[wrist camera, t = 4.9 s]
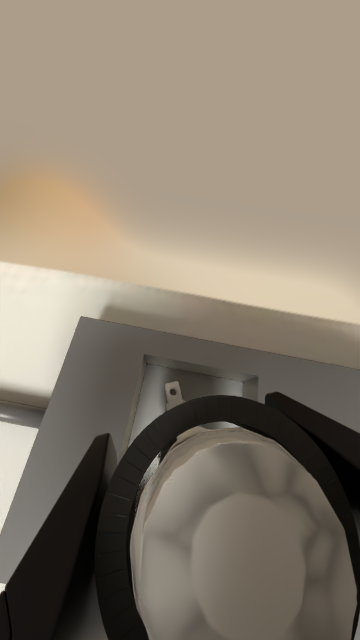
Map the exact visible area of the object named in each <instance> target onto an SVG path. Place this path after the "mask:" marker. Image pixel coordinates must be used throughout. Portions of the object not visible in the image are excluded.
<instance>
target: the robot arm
mask: <svg viewBox="0 0 360 640" xmlns="http://www.w3.org/2000/svg"><path fill="white" fill-rule="evenodd" d="M265 405H267V406H269V407H271V408H273V409H275V410H277V411H279V412H280V413H282V414H283V415H285V416H286V417H288V418H289V419H291V420H292V421H293V422H294V423H296V424H297V425H298V426H299V427H300V428H301V429H302V430H303V431H304V432H305V433H307V434H308V435H309V436H310V438H311V439H312V440H313V441H314V442H315V443H316V444H317V446H318V447H319V448H320V450H321V451H322V452H323V454H324V455H325V456H326V458H327V459H328V461H329V462H330V464H331V466H332V467H333V469H334V471H335V472H336V474H337V476H338V478H339V480H340V482H341V484H342V486H343V489H344V491H345V494H346V496H347V498H348V501H349V504H350V507H351V510H352V513H353V516H354V520H355V524H356V528H357V532H358V538H359V544H360V433H358V432H357V431H355V430H353V429H351V428H349V427H347V426H345V425H343V424H341V423H339V422H337V421H335V420H333V419H331V418H329V417H327V416H325V415H323V414H321V413H319V412H318V411H316V410H314V409H312V408H310V407H308V406H306V405H304V404H302V403H300V402H298V401H296V400H294V399H292V398H290V397H288V396H286V395H284V394H282V393H280V392H278V391H275V392H271V393H267V394H266V395H265ZM116 468H117V453H116V449H115V446H114V443H113V440H112V436H111V434H110V433H105V434H100V435H97V436H96V437H95V438H94V440H93V441H92V443H91V445H90V446H89V448H88V450H87V451H86V453H85V455H84V456H83V458H82V460H81V461H80V463H79V464H78V466H77V468H76V469H75V471H74V473H73V474H72V476H71V478H70V479H69V481H68V483H67V484H66V486H65V488H64V489H63V491H62V493H61V494H60V496H59V498H58V499H57V501H56V503H55V504H54V506H53V508H52V509H51V511H50V513H49V514H48V516H47V517H46V519H45V521H44V522H43V524H42V526H41V527H40V529H39V531H38V532H37V534H36V536H35V537H34V539H33V541H32V542H31V544H30V546H29V547H28V549H27V551H26V552H25V554H24V556H23V557H22V559H21V561H20V562H19V564H18V566H17V567H16V569H15V571H14V572H13V574H12V575H11V577H10V579H9V580H8V582H7V584H6V585H5V591H2V592H1V593H0V640H108V638H107V635H106V632H105V629H104V626H103V622H102V618H101V613H100V609H99V605H98V598H97V591H96V583H95V542H96V534H97V526H98V521H99V516H100V511H101V507H102V504H103V500H104V497H105V494H106V491H107V488H108V486H109V483H110V481H111V478H112V476H113V474H114V472H115V470H116Z"/></svg>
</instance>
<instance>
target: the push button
mask: <svg viewBox="0 0 360 640" xmlns="http://www.w3.org/2000/svg"><path fill="white" fill-rule="evenodd" d="M171 389H174V390H175V391H176V395H171V394H170V390H171ZM165 392H166V397H167V402H168V404H167V405H165V406H166V412H165V413H163V414H162V415H160V416H159V417H158V418H156V419H155V420H154V421H153V422H152V423H150V424H149V425H148V426H147V427H146V428H145V429H144V430H143V431H142V432H141V433H140V434H139V435H138V436H137V437H136V439H135V440H134V441H133V443H132V444H131V445H130V446H129V448H128V449H127V451H126V452H125V454H124V455H123V457H122V459H121V460H120V462H119V464H118V466H117V468H116V470H115V472H114V474H113V476H112V478H111V481H110V483H109V486H108V488H107V491H106V494H105V497H104V500H103V504H102V507H101V511H100V516H99V521H98V526H97V534H96V542H95V583H96V591H97V598H98V605H99V609H100V613H101V618H102V622H103V626H104V629H105V632H106V635H107V638H108V640H354V638H355V634H356V630H357V626H358V621H359V615H360V544H359V538H358V532H357V528H356V524H355V520H354V516H353V513H352V510H351V507H350V504H349V501H348V498H347V496H346V494H345V491H344V489H343V486H342V484H341V482H340V480H339V478H338V476H337V474H336V472H335V471H334V469H333V467H332V466H331V464H330V462H329V461H328V459H327V458H326V456H325V455H324V454H323V452H322V451H321V450H320V448H319V447H318V446H317V444H316V443H315V442H314V441H313V440H312V439H311V438H310V436H309V435H308V434H307V433H305V432H304V431H303V430H302V429H301V428H300V427H299V426H298V425H297V424H296V423H294V422H293V421H292V420H291V419H289V418H288V417H286V416H285V415H283V414H282V413H280V412H279V411H277V410H275V409H273V408H271V407H269V406H267V405H265V404H262V403H260V402H257V401H254V400H251V399H247V398H243V397H237V396H228V395H216V396H206V397H201V398H197V399H193V400H190V401H187V402H186V400H184V401H183V400H182V395H181V391H180V386H179V382H178V381H175V382H170V383H166V384H165ZM219 421H226V422H229V423H233V424H235V425H238V426H240V427H242V428H244V429H242V428H224V429H212V430H209V429H206V428H203V427H202V425H203V424H206V423H211V422H219ZM161 450H162V453H161V456H160V454H159V452H160V451H161ZM157 455H158V461H159V466H158V468H157V469H156V471H155V472H154V474H153V475H152V476H151V478H150V479H149V481H148V482H147V484H146V486H145V488H144V490H143V492H142V494H141V498H140V502H139V505H138V509H137V513H136V517H135V520H134V511H135V500H136V494H137V489H138V486H139V484H140V482H141V480H142V478H143V476H144V474H145V472H146V470H147V469H148V467H149V466H150V464H151V462H152V461H153V460H154V458H155V457H156V456H157Z"/></svg>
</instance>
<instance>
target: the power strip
mask: <svg viewBox="0 0 360 640" xmlns="http://www.w3.org/2000/svg"><path fill="white" fill-rule="evenodd" d="M147 363H148V364H153V365H158V366H164V367H169V368H174V369H179V370H184V371H190V372H195V373H200V374H205V375H210V376H216V377H221V378H226V379H231V380H236V381H242V382H244V385H243V398H247V399H251V400H254V401H257V402H260V403H262V404H265V395H266V394H267V393H271V392H275V391H278V392H280V393H282V394H284V395H286V396H288V397H290V398H292V399H294V400H296V401H298V402H300V403H302V404H304V405H306V406H308V407H310V408H312V409H314V410H316V411H318V412H319V413H321V414H323V415H325V416H327V417H329V418H331V419H333V420H335V421H337V422H339V423H341V424H343V425H345V426H347V427H349V428H351V429H353V430H355V431H357V432H358V433H360V370H358V369H353V368H348V367H343V366H338V365H332V364H327V363H322V362H317V361H312V360H306V359H301V358H296V357H291V356H285V355H280V354H275V353H270V352H265V351H259V350H254V349H249V348H244V347H239V346H233V345H228V344H223V343H218V342H213V341H207V340H202V339H197V338H192V337H187V336H181V335H176V334H171V333H166V332H161V331H155V330H150V329H145V328H140V327H135V326H129V325H124V324H119V323H114V322H109V321H103V320H98V319H93V318H88V317H83V316H81V317H80V320H79V322H78V325H77V328H76V330H75V333H74V336H73V339H72V341H71V344H70V347H69V349H68V352H67V355H66V357H65V360H64V363H63V366H62V368H61V371H60V374H59V376H58V379H57V382H56V385H55V387H54V390H53V393H52V395H51V398H50V401H49V404H48V406H47V409H44V408H39V407H33V406H28V405H23V404H18V403H13V402H7V401H2V400H0V421H2V422H7V423H12V424H17V425H22V426H28V427H33V428H38V429H39V431H38V433H37V436H36V439H35V441H34V444H33V447H32V450H31V452H30V455H29V458H28V460H27V463H26V466H25V469H24V471H23V474H22V477H21V479H20V482H19V485H18V487H17V490H16V493H15V496H14V498H13V501H12V504H11V506H10V509H9V512H8V515H7V517H6V520H5V523H4V525H3V528H2V531H1V534H0V583H4V584H7V582H8V580H9V579H10V577H11V575H12V574H13V572H14V571H15V569H16V567H17V566H18V564H19V562H20V561H21V559H22V557H23V556H24V554H25V552H26V551H27V549H28V547H29V546H30V544H31V542H32V541H33V539H34V537H35V536H36V534H37V532H38V531H39V529H40V527H41V526H42V524H43V522H44V521H45V519H46V517H47V516H48V514H49V513H50V511H51V509H52V508H53V506H54V504H55V503H56V501H57V499H58V498H59V496H60V494H61V493H62V491H63V489H64V488H65V486H66V484H67V483H68V481H69V479H70V478H71V476H72V474H73V473H74V471H75V469H76V468H77V466H78V464H79V463H80V461H81V460H82V458H83V456H84V455H85V453H86V451H87V450H88V448H89V446H90V445H91V443H92V441H93V440H94V438H95V437H96V436H97V435H100V434H105V433H110V434H111V436H112V440H113V443H114V446H115V449H116V453H117V466H118V464H119V462H120V460H121V459H122V457H123V455H124V454H125V452H126V451H127V447H128V442H129V438H130V434H131V429H132V425H133V421H134V417H135V412H136V408H137V404H138V399H139V395H140V391H141V386H142V382H143V378H144V374H145V369H146V365H147ZM240 428H242V427H240ZM242 429H244V428H242ZM354 640H360V615H359V621H358V626H357V630H356V634H355V638H354Z"/></svg>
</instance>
